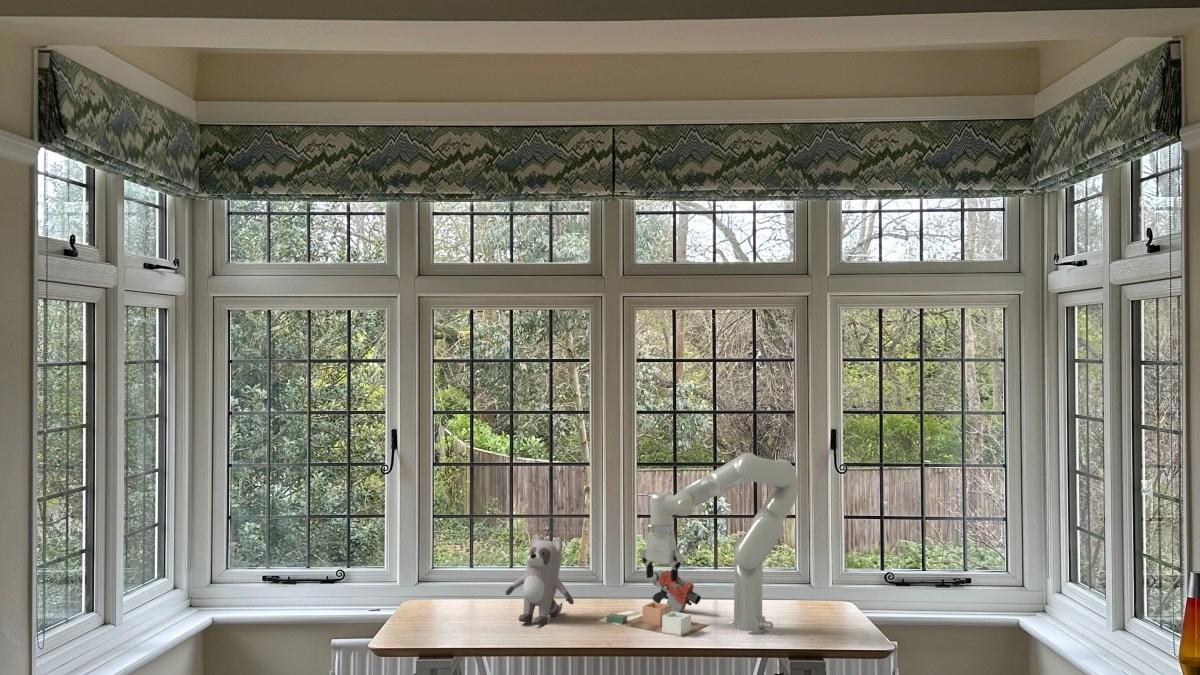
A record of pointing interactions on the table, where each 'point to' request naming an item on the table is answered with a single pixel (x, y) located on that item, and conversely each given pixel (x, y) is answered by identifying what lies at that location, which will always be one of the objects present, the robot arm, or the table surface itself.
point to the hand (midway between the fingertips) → (662, 579)
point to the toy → (541, 581)
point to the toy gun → (674, 591)
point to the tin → (617, 618)
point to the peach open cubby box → (654, 613)
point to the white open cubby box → (676, 623)
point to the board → (636, 622)
